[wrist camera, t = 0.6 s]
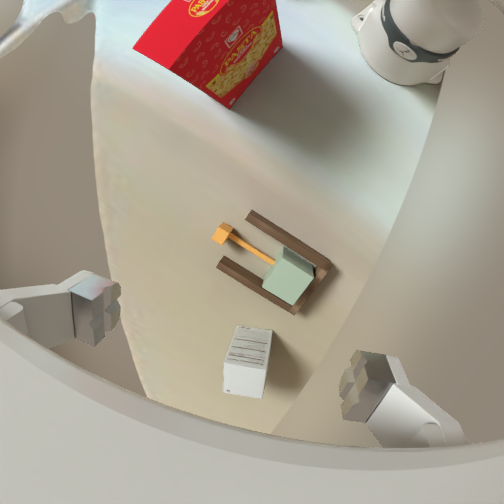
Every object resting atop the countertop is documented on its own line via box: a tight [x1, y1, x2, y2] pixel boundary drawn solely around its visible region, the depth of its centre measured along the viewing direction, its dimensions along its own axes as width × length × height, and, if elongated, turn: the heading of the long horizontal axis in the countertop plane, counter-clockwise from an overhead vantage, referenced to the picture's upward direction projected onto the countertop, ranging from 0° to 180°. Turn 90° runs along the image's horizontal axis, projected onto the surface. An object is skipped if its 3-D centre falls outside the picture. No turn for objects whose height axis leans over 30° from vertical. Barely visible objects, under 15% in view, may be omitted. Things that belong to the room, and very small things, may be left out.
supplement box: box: [223, 325, 273, 398], centre depth 52 cm, size 7×7×13 cm
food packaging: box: [132, 0, 283, 109], centre depth 31 cm, size 15×5×25 cm, turn 142°
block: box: [212, 222, 314, 306], centre depth 49 cm, size 6×17×6 cm, turn 59°
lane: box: [216, 210, 332, 315], centre depth 51 cm, size 11×16×4 cm
